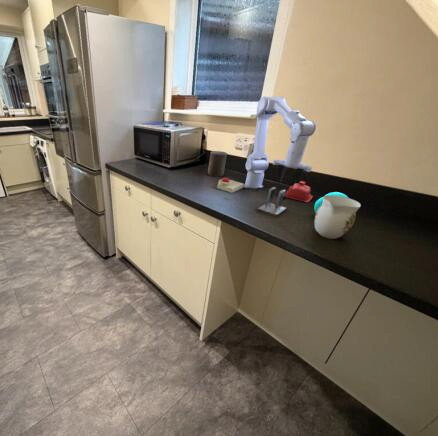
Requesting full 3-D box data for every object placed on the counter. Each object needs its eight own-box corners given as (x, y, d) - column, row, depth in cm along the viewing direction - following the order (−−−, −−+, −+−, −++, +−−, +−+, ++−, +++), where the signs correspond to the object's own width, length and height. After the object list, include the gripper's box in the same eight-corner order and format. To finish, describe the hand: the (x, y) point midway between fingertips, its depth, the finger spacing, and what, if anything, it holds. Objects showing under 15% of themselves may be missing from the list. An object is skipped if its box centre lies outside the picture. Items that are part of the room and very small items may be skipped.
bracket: (267, 204, 108) (273, 184, 103) (285, 210, 102) (292, 189, 98) (257, 210, 102) (262, 189, 97) (275, 217, 97) (282, 195, 92)
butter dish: (312, 197, 115) (319, 181, 111) (307, 204, 108) (313, 187, 104) (287, 191, 122) (292, 176, 118) (280, 198, 115) (285, 181, 111)
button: (224, 180, 126) (224, 177, 126) (229, 181, 124) (230, 178, 123) (220, 181, 124) (220, 178, 124) (226, 183, 122) (226, 180, 121)
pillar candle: (217, 178, 141) (221, 153, 134) (204, 174, 148) (207, 150, 141) (226, 175, 146) (230, 150, 139) (213, 171, 153) (217, 148, 146)
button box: (227, 182, 133) (229, 176, 131) (243, 187, 127) (245, 180, 125) (215, 187, 126) (216, 180, 124) (231, 193, 120) (232, 185, 118)
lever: (277, 199, 107) (280, 193, 107) (284, 201, 105) (288, 195, 105) (270, 195, 99) (273, 188, 98) (277, 197, 97) (281, 190, 96)
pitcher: (353, 231, 87) (371, 197, 80) (336, 248, 77) (354, 211, 71) (320, 220, 95) (334, 188, 88) (301, 234, 85) (314, 199, 78)
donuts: (309, 215, 98) (317, 193, 93) (318, 209, 104) (327, 188, 99) (337, 225, 91) (347, 202, 86) (345, 218, 97) (356, 195, 92)
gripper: (273, 150, 98) (265, 181, 104) (312, 157, 88) (300, 190, 95) (280, 148, 102) (272, 178, 109) (318, 154, 93) (306, 186, 99)
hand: (285, 184), depth 102 cm, fingers open, 5 cm apart
